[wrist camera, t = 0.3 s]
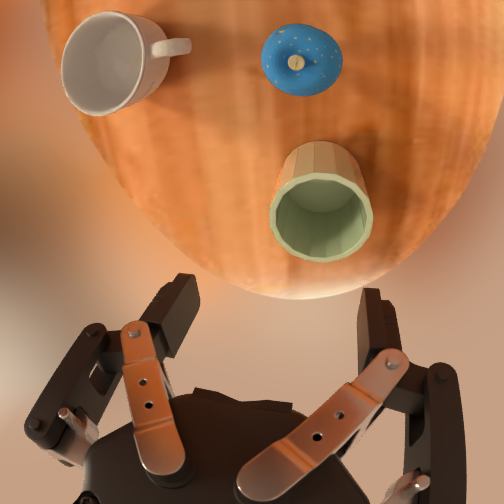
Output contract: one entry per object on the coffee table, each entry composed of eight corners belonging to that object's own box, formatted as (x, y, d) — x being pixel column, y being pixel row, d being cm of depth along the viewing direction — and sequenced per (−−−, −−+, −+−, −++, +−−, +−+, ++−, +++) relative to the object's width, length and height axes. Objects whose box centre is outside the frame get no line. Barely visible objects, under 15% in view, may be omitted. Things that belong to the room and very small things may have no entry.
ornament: (337, 41, 23) (357, 33, 12) (324, 86, 27) (331, 116, 15) (286, 27, 23) (260, 7, 12) (274, 72, 27) (240, 91, 15)
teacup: (101, 97, 31) (59, 116, 25) (105, 17, 24) (59, 20, 18) (204, 104, 30) (173, 123, 24) (216, 11, 23) (185, 3, 17)
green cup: (300, 126, 30) (294, 154, 23) (375, 163, 30) (392, 203, 24) (268, 195, 36) (254, 239, 29) (337, 225, 36) (340, 275, 29)
